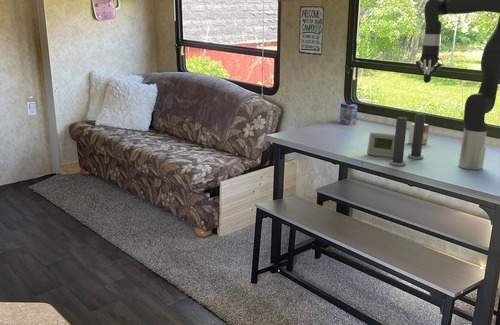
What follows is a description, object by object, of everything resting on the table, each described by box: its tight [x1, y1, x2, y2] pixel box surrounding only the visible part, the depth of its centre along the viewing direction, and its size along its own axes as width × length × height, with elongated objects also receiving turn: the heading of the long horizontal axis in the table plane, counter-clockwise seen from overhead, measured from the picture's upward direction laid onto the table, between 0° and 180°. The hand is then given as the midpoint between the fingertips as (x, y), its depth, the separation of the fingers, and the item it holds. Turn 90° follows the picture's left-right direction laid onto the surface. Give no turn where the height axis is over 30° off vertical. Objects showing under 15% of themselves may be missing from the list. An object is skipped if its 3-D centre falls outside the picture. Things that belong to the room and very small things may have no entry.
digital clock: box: [366, 131, 395, 159], centre depth 236 cm, size 16×9×11 cm, turn 54°
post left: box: [389, 116, 408, 167], centre depth 221 cm, size 7×7×21 cm
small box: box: [407, 123, 430, 145], centre depth 261 cm, size 8×6×10 cm
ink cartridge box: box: [339, 100, 359, 126], centre depth 307 cm, size 10×6×14 cm, turn 35°
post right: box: [407, 112, 426, 160], centre depth 233 cm, size 7×7×21 cm
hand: (426, 82), depth 231 cm, fingers closed
